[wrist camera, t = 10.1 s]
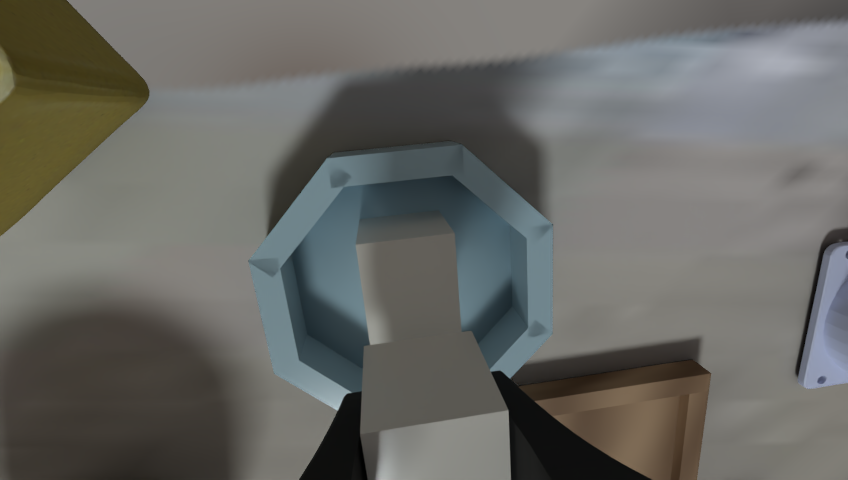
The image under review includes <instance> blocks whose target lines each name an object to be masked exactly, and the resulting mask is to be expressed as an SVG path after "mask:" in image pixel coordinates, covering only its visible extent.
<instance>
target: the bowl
mask: <svg viewBox="0 0 848 480" xmlns="http://www.w3.org/2000/svg"><path fill="white" fill-rule="evenodd" d="M437 210H439V211H440V213H441V214H442V216H443V217H444V219H445V220H446V221H447V223H448V224H449V226H450V227H451V229H452V230H453V231H454V233H455V245H456V259H457V274H458V288H459V302H460V317H461V331H462V332H465V331H472V333H473V335H474V337H475V339H476V341H477V344H478V346H479V348H480V350H481V352H482V354H483V356H484V359H485V361H486V363H487V365H488V367H489V369H490V372H492V371H499V370H500V371H502V372H503V373H504V374H505V375H506V376H507V377H508V378H511V377H512V376H513V375H514V374H515V373H516V372H517V371H518V370H519V369H520V368H521V367H522V366H523V364H524V363H525V362H526V361H527V360H528V359H529V358H530V357H531V356H532V355H533V354H534V353H535V352H536V351H537V350H538V349H539V347H540V346H541V345H542V344H543V343H544V342H545V341H546V340H547V339H548V338H549V337H550V336H551V335H552V334H553V333H552V297H553V224H551V223H550V222H549V221H548V220H547V219H546V218H545V217H544V216H542V215H541V214H540V213H539V212H538V211H537V210H536V209H534V208H533V207H532V206H531V205H530V204H529V203H528V202H527V201H525V200H524V199H523V198H522V197H521V196H520V195H519V194H518V193H516V192H515V191H514V190H513V189H512V188H511V187H510V186H508V185H507V184H506V183H505V182H504V181H503V180H502V179H501V178H499V177H498V176H497V175H496V174H495V173H494V172H493V171H491V170H490V169H489V168H488V167H487V166H486V165H485V164H484V163H482V162H481V161H480V160H479V159H478V158H477V157H476V156H474V155H473V154H472V153H471V152H470V151H469V150H468V149H467V148H465V147H464V146H463V145H462V144H459V143H456V142H452V141H445V142H435V143H425V144H415V145H405V146H395V147H385V148H375V149H365V150H355V151H345V152H334V153H333V154H331V155H330V156H329V157H328V158H327V159H326V160H325V162H324V163H323V164H322V166H321V167H320V168H319V169H318V171H317V172H316V173H315V175H314V176H313V177H312V179H311V180H310V181H309V183H308V184H307V185H306V186H305V188H304V189H303V190H302V192H301V193H300V194H299V196H298V197H297V198H296V200H295V201H294V202H293V203H292V205H291V206H290V207H289V209H288V210H287V211H286V213H285V214H284V215H283V217H282V218H281V219H280V220H279V222H278V223H277V224H276V226H275V227H274V228H273V230H272V231H271V232H270V234H269V235H268V236H267V237H266V239H265V240H264V241H263V243H262V244H261V245H260V247H259V248H258V249H257V251H256V252H255V253H254V254H253V256H252V257H251V258H250V259H249V261H248V262H249V266H250V270H251V274H252V279H253V283H254V287H255V292H256V296H257V300H258V305H259V309H260V314H261V318H262V322H263V327H264V331H265V335H266V340H267V344H268V349H269V353H270V357H271V362H272V366H273V370H274V374H276V375H277V376H279V377H281V378H283V379H284V380H286V381H288V382H289V383H291V384H293V385H295V386H296V387H298V388H300V389H301V390H303V391H305V392H307V393H308V394H310V395H312V396H313V397H315V398H317V399H318V400H320V401H322V402H324V403H325V404H327V405H329V406H330V407H332V408H334V409H336V410H337V411H338V409H339V407H340V405H341V402H342V400H343V398H344V396H345V395H346V394H347V393H353V392H360V391H362V377H363V353H364V346H367V345H370V342H369V335H368V328H367V321H366V314H365V307H364V300H363V293H362V286H361V279H360V272H359V265H358V258H357V251H356V239H357V232H358V226H359V219H366V218H375V217H384V216H393V215H402V214H411V213H420V212H428V211H437Z"/></svg>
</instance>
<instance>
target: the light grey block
mask: <svg viewBox="0 0 848 480" xmlns="http://www.w3.org/2000/svg"><path fill="white" fill-rule="evenodd" d="M356 251H357V258H358V265H359V272H360V279H361V286H362V293H363V300H364V307H365V314H366V321H367V328H368V335H369V342H370V345H374V344H381V343H388V342H395V341H402V340H409V339H416V338H423V337H430V336H437V335H444V334H451V333H458V332H462V331H461V317H460V302H459V288H458V274H457V259H456V245H455V233H454V231H453V230H452V229H451V227H450V226H449V224H448V223H447V221H446V220H445V219H444V217H443V216H442V214H441V213H440V211H439V210H437V211H428V212H420V213H411V214H402V215H393V216H384V217H375V218H366V219H359V226H358V232H357V239H356Z"/></svg>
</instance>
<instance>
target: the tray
mask: <svg viewBox="0 0 848 480" xmlns="http://www.w3.org/2000/svg"><path fill="white" fill-rule="evenodd" d="M710 378H711V373H710V372H709V371H707V370H706V369H705V368H703V367H702V366H701V365H699V364H698V363H697V362H695V361H694V360H686V361H680V362H673V363H667V364H660V365H654V366H647V367H641V368H634V369H627V370H621V371H614V372H608V373H601V374H595V375H588V376H582V377H575V378H569V379H562V380H556V381H549V382H543V383H536V384H530V385H523V386H518V387H519V388H520V389H521V390H523V391H524V392H525V393H526V394H527V395H528V396H529V397H530V398H531V399H533V400H534V401H535V402H536V403H537V404H538V405H540V406H541V407H542V408H543V409H544V410H546V411H547V412H548V413H549V414H550V415H552V416H553V417H554V418H555V419H557V420H558V421H559V422H560V423H562V424H563V425H564V426H566V427H567V428H568V429H570V430H571V431H572V432H574V433H575V434H576V435H578V436H579V437H581V438H582V439H584V440H585V441H587V442H588V443H590V444H591V445H593V446H594V447H596V448H598V449H599V450H601V451H602V452H604V453H605V454H607V455H609V456H610V457H612V458H614V459H615V460H617V461H619V462H620V463H622V464H624V465H626V466H628V467H629V468H631V469H633V470H635V471H637V472H639V473H641V474H643V475H644V476H646V477H648V478H650V479H652V480H697V475H698V467H699V460H700V452H701V445H702V437H703V430H704V422H705V415H706V408H707V400H708V393H709V385H710Z"/></svg>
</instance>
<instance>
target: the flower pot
mask: <svg viewBox="0 0 848 480" xmlns="http://www.w3.org/2000/svg"><path fill="white" fill-rule="evenodd" d="M148 97H149V89H148V86H147V84H146V82H145V81H144V79H143V78H142V77H141V76H140V75H139V74H138V73H137V72H136V71H135V70H134V69H133V68H132V67H131V66H130V65H129V64H128V63H127V62H126V61H125V60H124V59H123V58H122V57H121V56H120V55H119V54H118V53H117V52H116V51H115V50H114V49H113V48H112V47H111V46H110V44H109V43H108V42H107V41H105V39H104V38H103V37H102V36H101V35H100V34H99V33H98V32H97V31H96V30H95V29H94V28H93V27H92V26H91V25H90V24H89V23H88V22H87V21H86V20H85V19H84V18H83V17H82V16H81V15H80V14H79V13H78V12H77V11H76V10H75V9H74V8H73V7H72V5H71V4H69V2H68V1H67V0H0V236H1V235H2V234H4V233H5V232H6V231H7V230H8V229H10V228H11V227H12V226H13V225H14V224H15V223H17V222H18V221H19V220H20V219H21V218H22V217H23V216H24V215H26V214H27V213H28V212H29V211H30V210H31V209H32V208H33V207H34V206H35V205H36V204H37V203H38V202H39V201H40V200H41V199H42V198H43V197H44V196H45V195H46V194H48V193H49V192H50V191H51V190H52V189H53V188H54V187H55V186H56V185H57V184H58V183H59V182H60V181H61V180H62V179H63V178H64V177H66V176H67V175H68V174H69V173H70V172H71V171H72V170H73V169H74V168H75V167H76V166H77V165H78V164H80V163H81V162H82V161H83V160H84V159H85V158H86V157H87V156H88V155H89V154H90V153H91V152H92V151H93V150H95V149H96V148H97V147H98V146H99V145H100V144H101V143H102V142H103V141H104V140H105V139H106V138H108V137H109V136H110V135H111V134H112V133H113V132H114V131H115V130H116V129H117V128H119V127H120V126H121V125H122V124H123V123H124V122H125V121H126V120H128V119H129V118H130V117H131V116H132V115H133V114H134V113H136V112H137V111H138V110H139V109H140V108H141V107H142V106H143V105H144V104H145V103H146V101H147V100H148Z"/></svg>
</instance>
